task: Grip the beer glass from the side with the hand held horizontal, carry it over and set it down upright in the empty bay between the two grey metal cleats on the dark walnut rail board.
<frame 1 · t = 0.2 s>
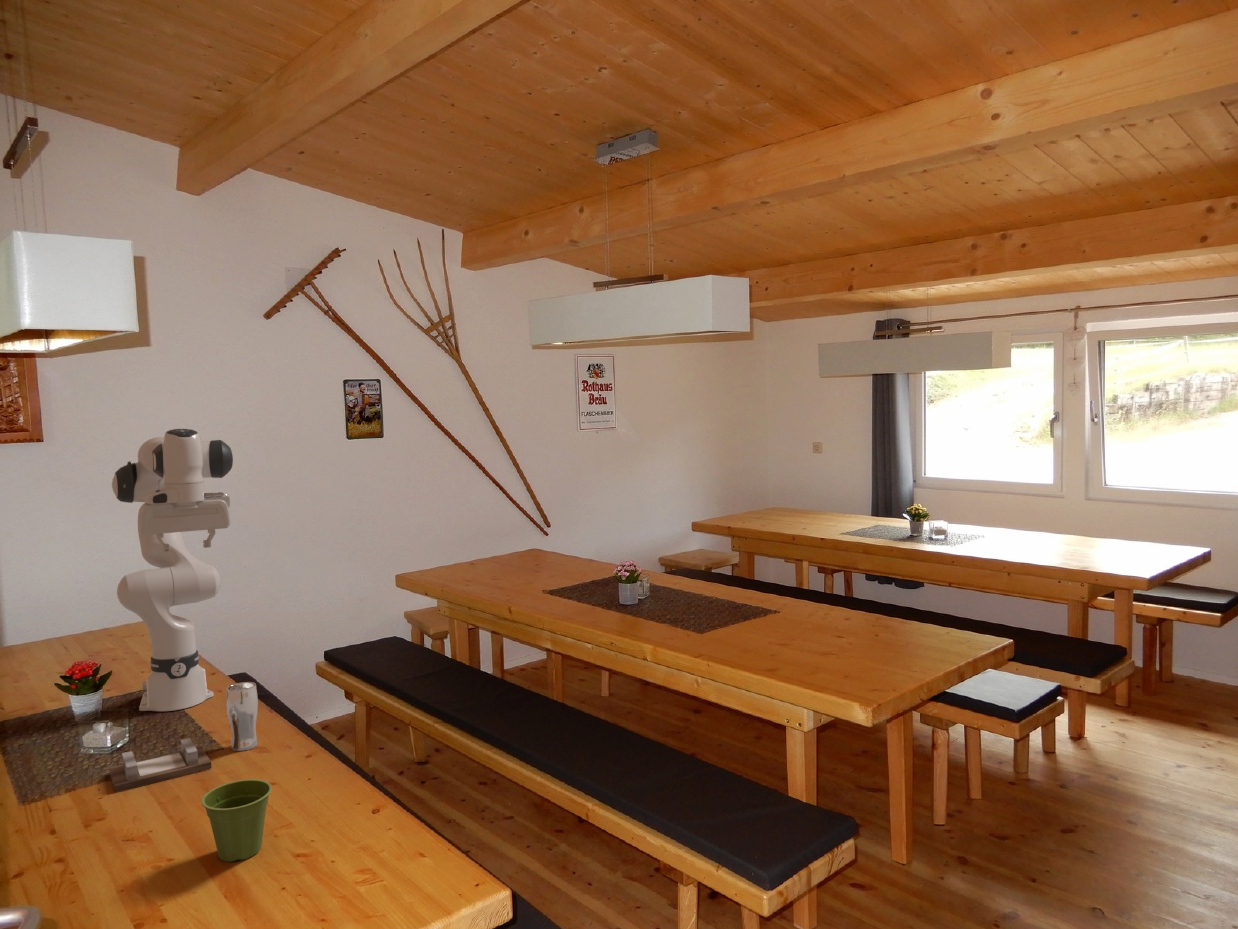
hand: (186, 549, 206), 48 cm above the table, tool pointing down, fingers open, 8 cm apart
beer glass: (244, 747, 202), on the table
plant pot: (240, 853, 152), on the table
rail board: (160, 771, 189), on the table
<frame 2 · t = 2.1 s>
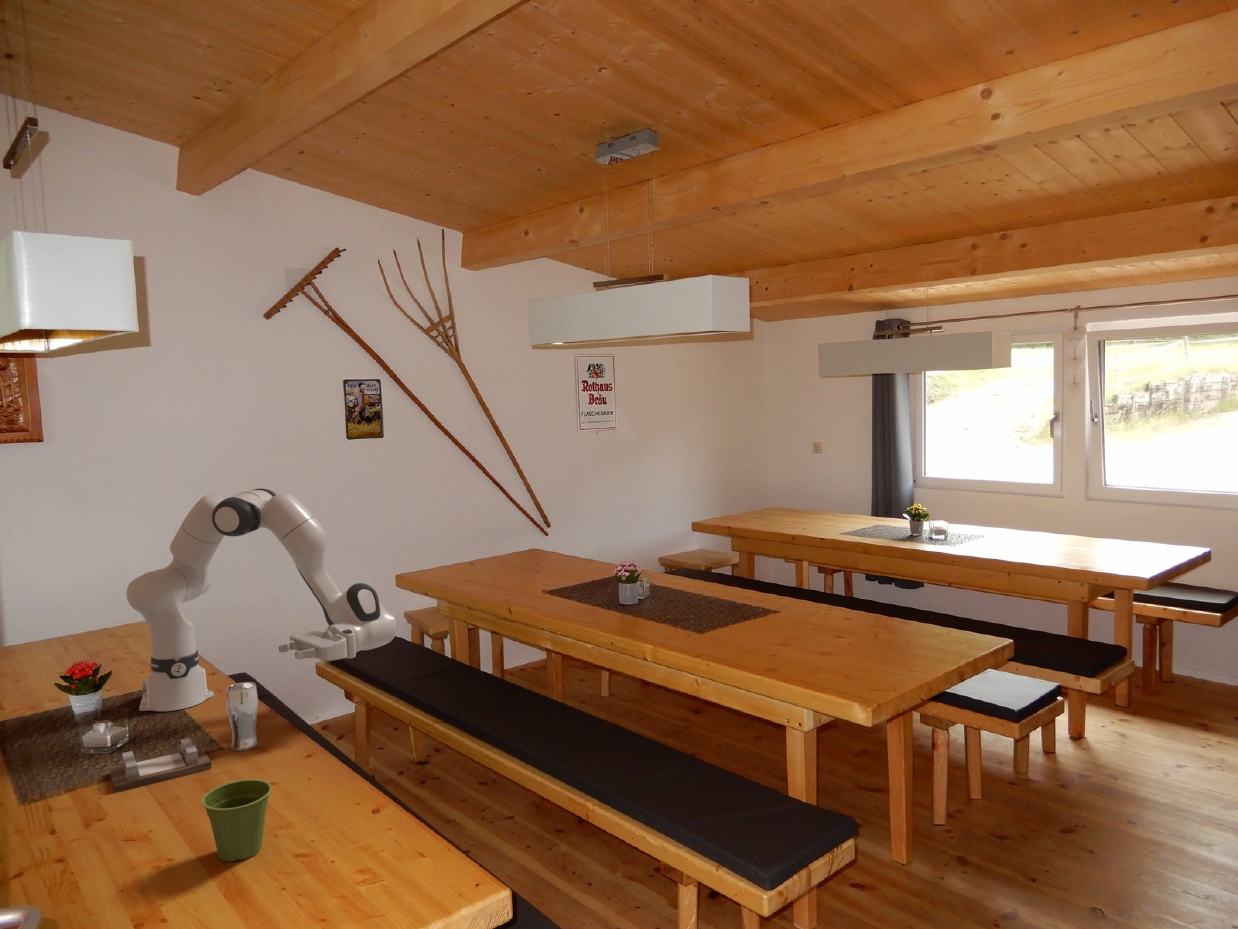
hand: (287, 652, 209), 21 cm above the table, tool horizontal, fingers open, 8 cm apart
nothing on the table moved.
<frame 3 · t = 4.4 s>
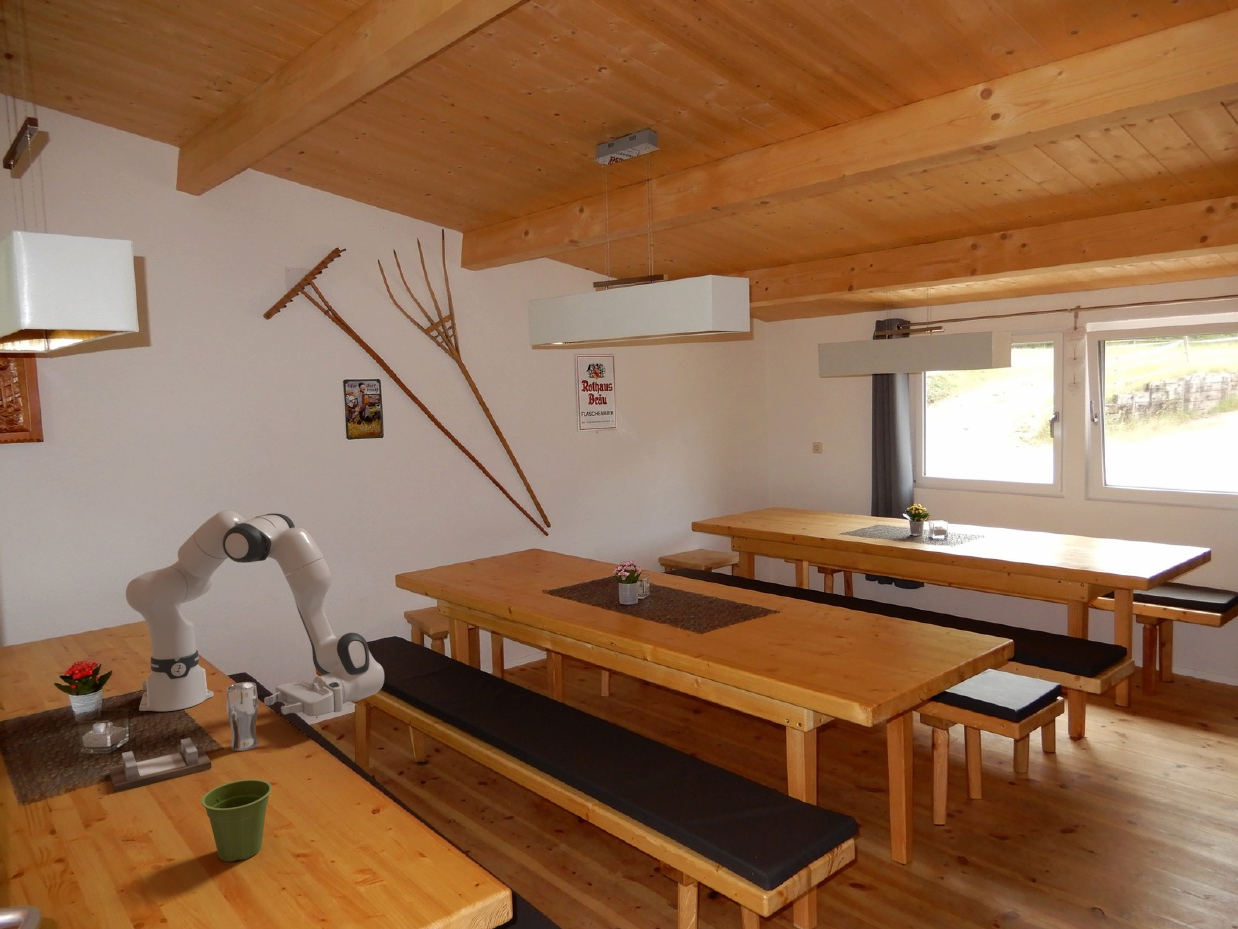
hand: (273, 706, 207), 8 cm above the table, tool horizontal, fingers open, 8 cm apart
nothing on the table moved.
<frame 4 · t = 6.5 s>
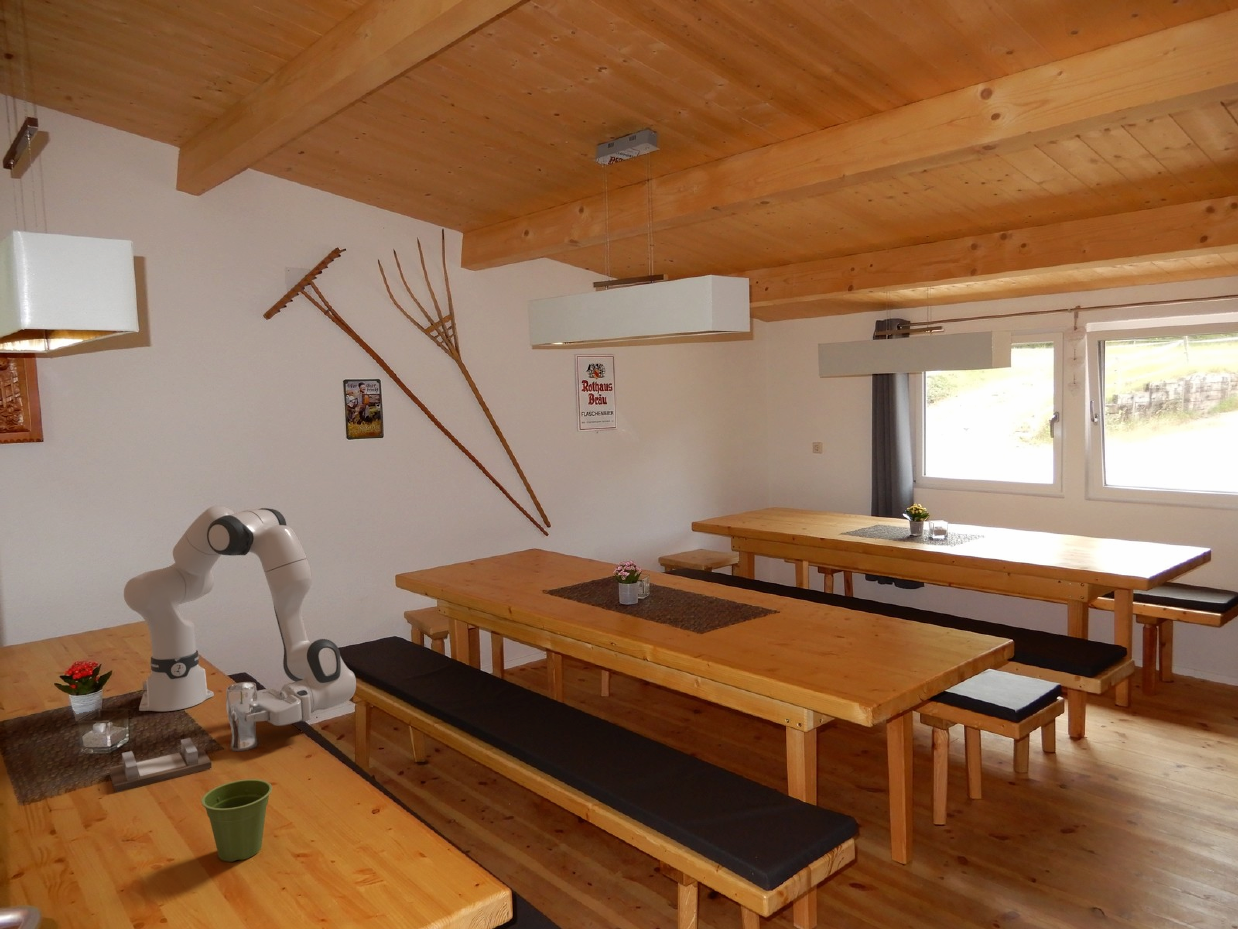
hand: (239, 715, 201), 8 cm above the table, tool horizontal, fingers closed on beer glass, 6 cm apart
beer glass: (244, 747, 202), on the table, touching gripper
everything else where it was.
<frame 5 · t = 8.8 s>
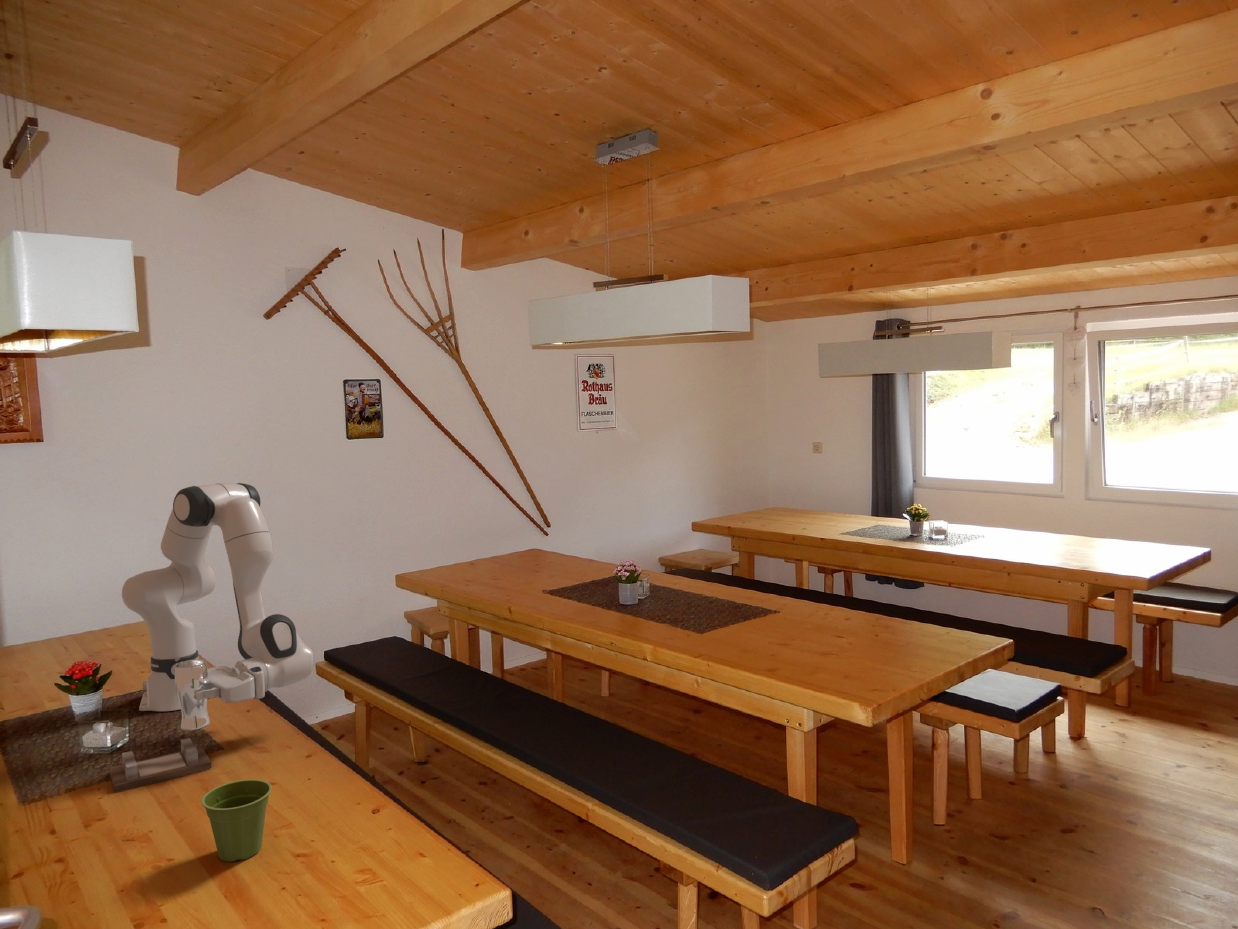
hand: (188, 692, 192), 17 cm above the table, tool horizontal, fingers closed on beer glass, 6 cm apart
beer glass: (195, 726, 194), point 8 cm above the table, touching gripper
everything else where it was.
when the fingers open (11 cm above the table, at t = 11.4 s): beer glass moves 1 cm, resting on rail board.
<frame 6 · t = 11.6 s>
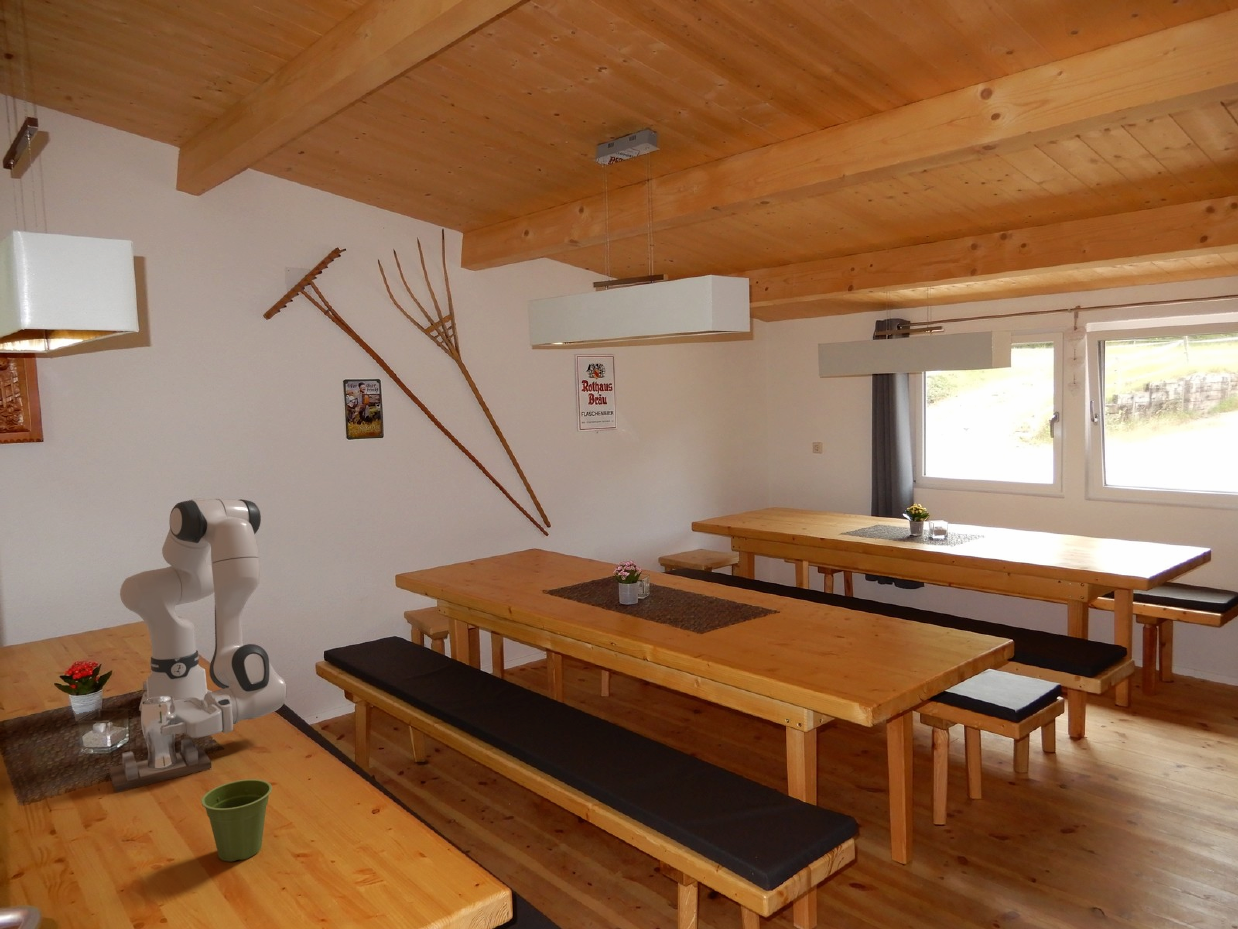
hand: (153, 726, 187), 11 cm above the table, tool horizontal, fingers open, 8 cm apart
beer glass: (162, 765, 188), point 2 cm above the table, touching gripper, rail board
everything else where it was.
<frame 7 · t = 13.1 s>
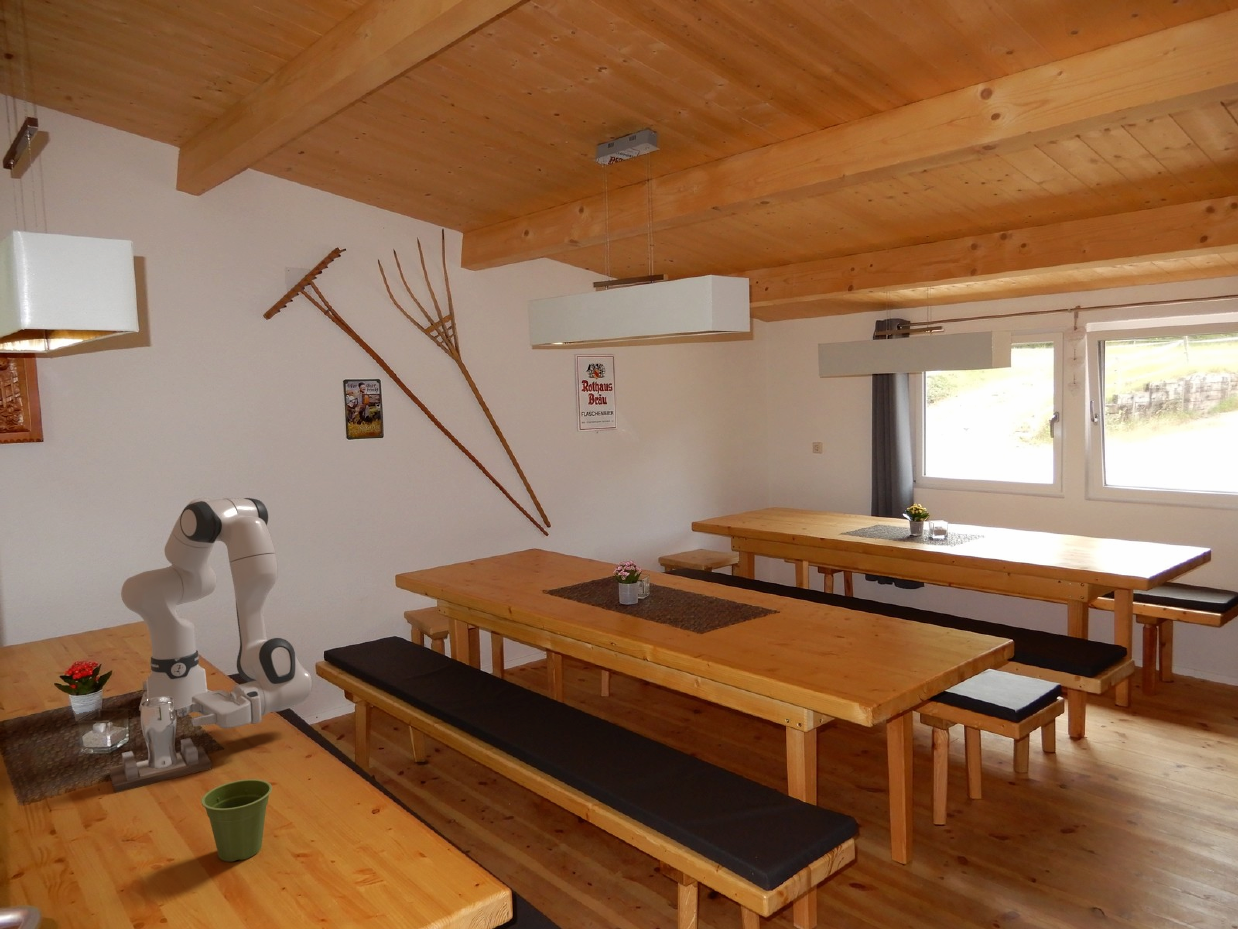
hand: (185, 717, 192), 11 cm above the table, tool horizontal, fingers open, 8 cm apart
beer glass: (162, 765, 188), point 2 cm above the table, touching rail board
everything else where it was.
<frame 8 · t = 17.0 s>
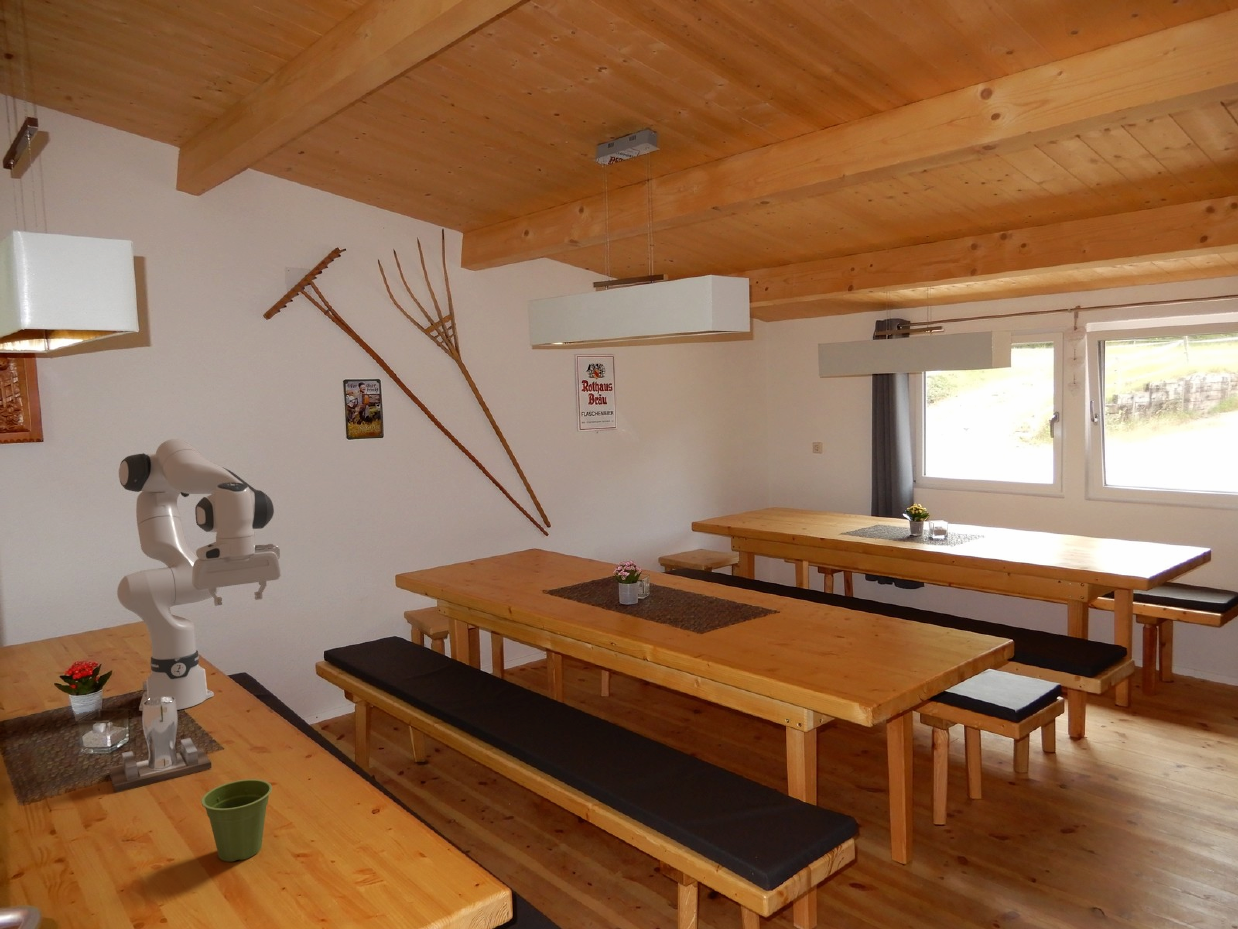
hand: (238, 602, 207), 34 cm above the table, tool pointing down, fingers open, 8 cm apart
nothing on the table moved.
at the end: beer glass 1.0 cm off-centre on the rail board, point 1.5 cm above the rail board's base; beer glass tilted 0°; the gripper is holding nothing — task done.
